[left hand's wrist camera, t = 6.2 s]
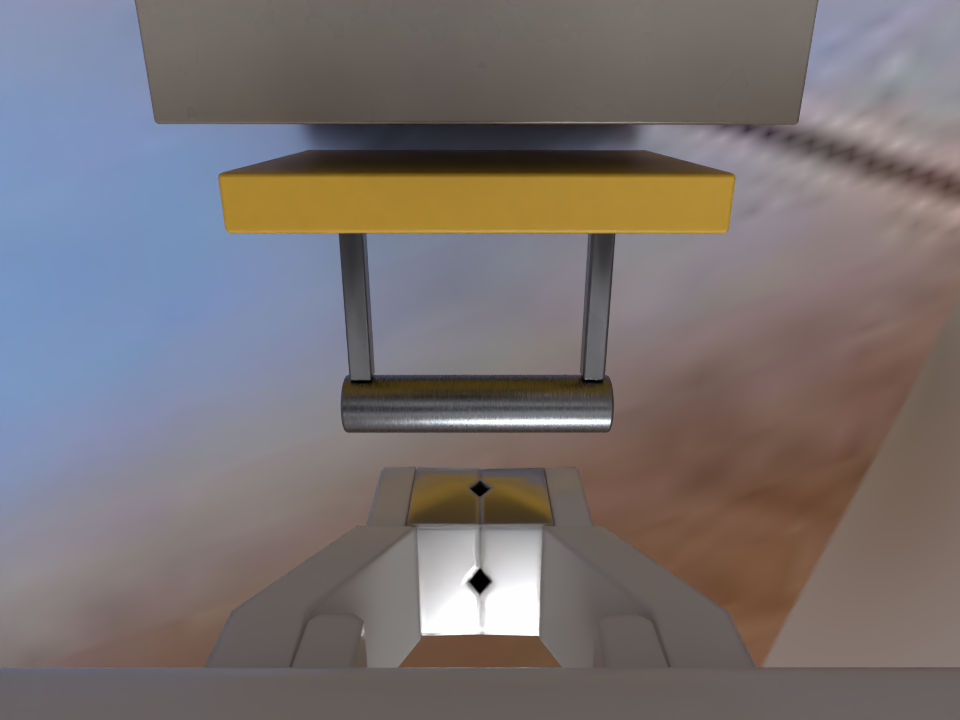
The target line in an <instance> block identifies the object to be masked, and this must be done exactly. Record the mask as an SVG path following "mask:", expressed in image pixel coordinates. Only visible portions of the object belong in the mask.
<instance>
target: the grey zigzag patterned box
mask: <svg viewBox="0 0 960 720" xmlns="http://www.w3.org/2000/svg"><path fill="white" fill-rule="evenodd" d="M135 4H136V10H137V16H138V22H139V28H140V34H141V40H142V46H143V52H144V58H145V64H146V70H147V77H148V83H149V89H150V95H151V101H152V107H153V113H154V119H155V122H156V123H158V124H768V125H795V124H797V123H798V121H799V115H800V109H801V102H802V96H803V90H804V84H805V78H806V72H807V66H808V60H809V53H810V47H811V41H812V35H813V29H814V23H815V17H816V11H817V5H818V0H135Z"/></svg>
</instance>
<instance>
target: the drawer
mask: <svg viewBox="0 0 960 720" xmlns="http://www.w3.org/2000/svg"><path fill="white" fill-rule="evenodd" d="M218 178H219V186H220V193H221V200H222V208H223V215H224V222H225V229H226V231H227V232H229V233H339V243H340V256H341V269H342V283H343V296H344V309H345V323H346V336H347V349H348V362H349V375H348V376H346V377H345V379H344V382H343V386H342V393H341V418H342V424H343V427H344V430H345V431H346V432H348V433H507V432H609V431H610V429H611V426H612V421H613V411H614V400H613V389H612V384H611V380H610V378H609V376H607V375H605V367H606V353H607V340H608V326H609V313H610V299H611V286H612V272H613V259H614V245H615V233H725V232H727V231H728V228H729V221H730V213H731V206H732V199H733V191H734V184H735V175H734V174H732V173H729V172H725V171H721V170H718V169H714V168H710V167H706V166H702V165H699V164H695V163H691V162H687V161H683V160H680V159H676V158H672V157H668V156H664V155H661V154H657V153H653V152H649V151H645V150H308V151H304V152H300V153H296V154H292V155H288V156H285V157H281V158H277V159H273V160H269V161H265V162H262V163H258V164H254V165H250V166H246V167H242V168H239V169H235V170H231V171H227V172H223V173H221V174H219V177H218ZM366 233H588V248H587V265H586V282H585V298H584V315H583V332H582V349H581V365H580V372H581V375H374V372H375V370H374V354H373V337H372V321H371V304H370V288H369V271H368V255H367V238H366Z"/></svg>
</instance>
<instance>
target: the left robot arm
mask: <svg viewBox="0 0 960 720" xmlns="http://www.w3.org/2000/svg"><path fill="white" fill-rule="evenodd" d="M462 634H496V635H533V636H539V639H540V640H541V641H542V642H543V644H544V645H545V646H546V647H547V649H548V650H549V651H550V652H551V654H552V655H553V656H554V657H555V658H556V660H557V661H558V662H559V663H560V665H561V666H562V667H563V668H398V666H399V665H400V664H401V663H402V662H403V660H404V659H405V658H406V657H407V655H408V654H409V653H410V652H411V650H412V649H413V648H414V647H415V645H416V644H417V643H418V642H419V640H420V639H421V636H427V635H462ZM0 720H960V668H756V667H755V664H754V662H753V660H752V658H751V656H750V654H749V652H748V650H747V648H746V646H745V644H744V642H743V640H742V638H741V636H740V634H739V632H738V630H737V628H736V626H735V624H734V622H733V620H732V618H731V616H730V614H729V612H728V611H726V610H725V609H724V608H722V607H721V606H719V605H718V604H716V603H715V602H713V601H712V600H710V599H709V598H707V597H706V596H705V595H703V594H702V593H700V592H699V591H697V590H696V589H694V588H693V587H691V586H690V585H688V584H687V583H686V582H684V581H683V580H681V579H680V578H678V577H677V576H675V575H674V574H672V573H671V572H669V571H668V570H667V569H665V568H664V567H662V566H661V565H659V564H658V563H656V562H655V561H653V560H652V559H650V558H649V557H648V556H646V555H645V554H643V553H642V552H640V551H639V550H637V549H636V548H634V547H633V546H631V545H630V544H629V543H627V542H626V541H624V540H623V539H621V538H620V537H618V536H617V535H615V534H614V533H612V532H611V531H610V530H608V529H607V528H605V527H604V526H594V525H593V521H592V518H591V514H590V511H589V507H588V503H587V500H586V496H585V493H584V489H583V485H582V482H581V478H580V475H579V471H578V469H577V468H576V467H558V468H511V469H465V468H417V469H416V468H415V467H390V468H384V469H383V470H382V471H381V474H380V478H379V481H378V485H377V488H376V492H375V496H374V499H373V503H372V507H371V510H370V514H369V518H368V521H367V525H366V526H356V527H355V528H353V529H352V530H350V531H349V532H348V533H346V534H345V535H343V536H342V537H340V538H339V539H337V540H336V541H334V542H333V543H331V544H330V545H328V546H327V547H326V548H324V549H323V550H321V551H320V552H318V553H317V554H315V555H314V556H312V557H311V558H309V559H308V560H306V561H305V562H303V563H302V564H301V565H299V566H298V567H296V568H295V569H293V570H292V571H290V572H289V573H287V574H286V575H284V576H283V577H281V578H280V579H279V580H277V581H276V582H274V583H273V584H271V585H270V586H268V587H267V588H265V589H264V590H262V591H261V592H259V593H258V594H257V595H255V596H254V597H252V598H251V599H249V600H248V601H246V602H245V603H243V604H242V605H240V606H239V607H237V608H236V609H235V610H233V611H232V612H231V614H230V616H229V618H228V620H227V622H226V624H225V626H224V628H223V630H222V632H221V634H220V636H219V638H218V640H217V642H216V644H215V646H214V648H213V650H212V652H211V655H210V657H209V659H208V661H207V663H206V665H205V667H204V668H138V667H36V668H0Z"/></svg>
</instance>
